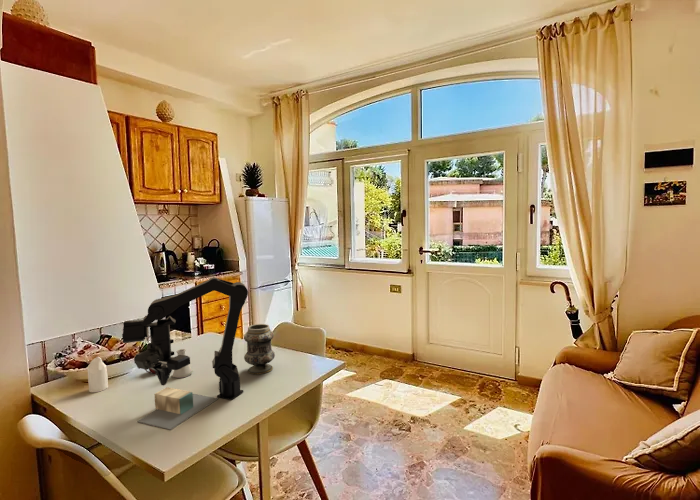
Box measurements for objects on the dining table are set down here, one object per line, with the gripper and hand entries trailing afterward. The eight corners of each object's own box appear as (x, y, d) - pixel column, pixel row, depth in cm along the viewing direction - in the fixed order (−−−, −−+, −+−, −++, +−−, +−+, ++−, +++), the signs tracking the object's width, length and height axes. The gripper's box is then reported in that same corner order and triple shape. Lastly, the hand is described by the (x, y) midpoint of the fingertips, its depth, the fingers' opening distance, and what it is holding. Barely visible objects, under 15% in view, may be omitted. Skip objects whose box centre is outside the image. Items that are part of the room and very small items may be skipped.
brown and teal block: (168, 401, 127) (193, 406, 123) (155, 408, 122) (181, 414, 118) (167, 387, 126) (192, 392, 122) (154, 393, 122) (180, 399, 118)
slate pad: (218, 399, 128) (217, 398, 128) (170, 430, 110) (170, 429, 110) (187, 393, 133) (187, 392, 133) (137, 421, 115) (137, 421, 115)
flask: (185, 379, 146) (183, 354, 145) (168, 378, 147) (166, 353, 146) (196, 371, 153) (194, 347, 152) (180, 370, 154) (178, 346, 153)
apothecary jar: (279, 364, 158) (277, 322, 157) (270, 376, 146) (268, 330, 145) (251, 363, 159) (249, 322, 158) (240, 375, 147) (237, 330, 146)
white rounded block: (83, 361, 134) (89, 355, 139) (86, 393, 135) (92, 387, 140) (103, 358, 136) (107, 353, 141) (105, 390, 137) (110, 384, 142)
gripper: (117, 343, 118) (120, 391, 119) (161, 349, 111) (164, 400, 112) (147, 333, 128) (150, 377, 130) (190, 338, 121) (192, 385, 123)
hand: (163, 384), depth 123 cm, fingers closed
